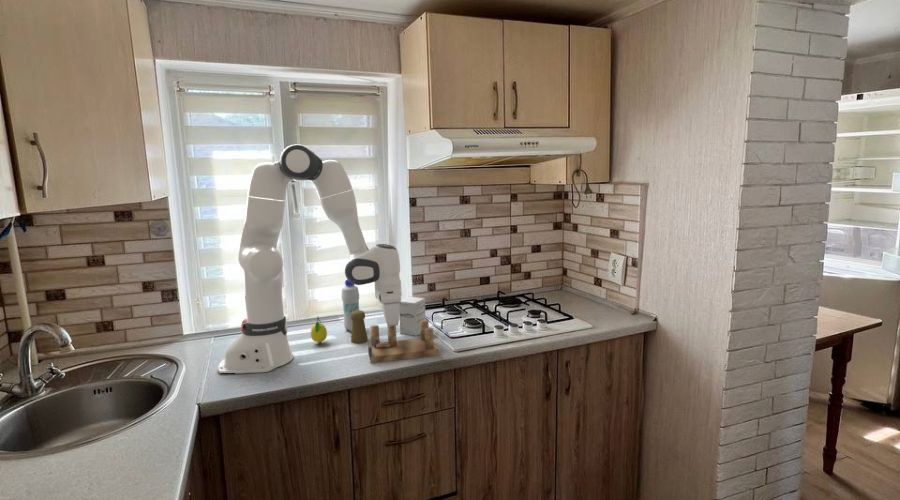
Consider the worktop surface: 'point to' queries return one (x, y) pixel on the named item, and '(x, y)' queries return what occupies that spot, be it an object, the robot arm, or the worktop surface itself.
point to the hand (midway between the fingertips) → (390, 330)
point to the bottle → (349, 303)
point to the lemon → (318, 332)
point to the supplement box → (411, 315)
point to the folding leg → (391, 338)
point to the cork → (358, 327)
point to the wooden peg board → (403, 346)
